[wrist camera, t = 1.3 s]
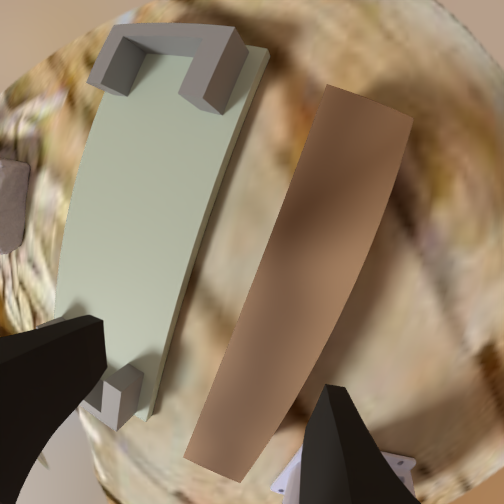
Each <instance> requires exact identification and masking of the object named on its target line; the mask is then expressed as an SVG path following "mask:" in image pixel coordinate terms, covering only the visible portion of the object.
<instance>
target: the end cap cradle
mask: <svg viewBox="0 0 504 504" xmlns="http://www.w3.org/2000/svg"><path fill="white" fill-rule="evenodd" d="M269 59H270V54H269V51H268V49H266V48H261V47H255V46H250V45H245V44H244V42H243V40H242V38H241V37H240V35H239V33H238V31H237V30H236V28H235V27H231V26H221V25H210V24H194V23H136V24H120V25H114V26H113V28H112V30H111V32H110V34H109V36H108V37H107V39H106V41H105V43H104V45H103V47H102V49H101V51H100V53H99V55H98V57H97V59H96V62H95V64H94V66H93V68H92V70H91V73H90V75H89V77H88V79H87V82H86V83H88V84H90V85H92V86H95V87H97V88H99V89H101V90H103V91H105V93H104V95H103V98H102V100H101V103H100V106H99V108H98V111H97V114H96V116H95V119H94V122H93V125H92V127H91V130H90V133H89V136H88V139H87V142H86V146H85V149H84V152H83V155H82V159H81V162H80V166H79V169H78V173H77V177H76V180H75V184H74V188H73V192H72V197H71V201H70V205H69V210H68V215H67V220H66V225H65V230H64V236H63V242H62V248H61V254H60V261H59V269H58V277H57V286H56V297H55V310H54V319H53V320H51V321H48V322H46V323H43V324H41V325H38V326H36V329H38V328H41V327H45V326H48V325H52V324H55V323H59V322H62V321H65V320H69V319H72V318H76V317H80V316H84V315H89V314H90V315H92V316H95V317H97V318H99V319H102V320H103V322H104V335H105V347H106V357H107V365H108V367H107V369H106V370H105V372H104V374H103V375H102V377H101V378H100V380H99V381H98V383H97V384H96V386H95V387H94V388H93V390H92V391H91V392H90V393H89V394H88V395H87V396H86V398H85V399H84V400H83V401H82V402H81V403H80V404H79V405H80V406H82V407H83V408H84V409H85V410H87V411H88V412H89V413H91V414H92V415H93V416H95V417H96V418H97V419H99V420H100V421H102V422H103V423H104V424H106V425H107V426H109V427H110V428H112V429H113V430H115V431H118V430H119V429H120V428H121V427H122V426H123V425H124V424H125V423H126V422H127V421H128V420H129V419H130V418H131V417H132V416H133V415H135V416H137V417H138V418H140V419H142V420H143V421H145V422H147V420H148V419H149V418H150V417H151V416H152V413H153V409H154V405H155V401H156V397H157V393H158V389H159V385H160V381H161V377H162V373H163V369H164V366H165V362H166V358H167V354H168V351H169V347H170V344H171V340H172V336H173V333H174V329H175V326H176V322H177V319H178V315H179V312H180V309H181V305H182V302H183V298H184V295H185V292H186V288H187V285H188V282H189V279H190V275H191V272H192V269H193V266H194V263H195V260H196V256H197V253H198V250H199V247H200V244H201V241H202V238H203V235H204V232H205V229H206V226H207V223H208V220H209V217H210V214H211V211H212V208H213V205H214V202H215V199H216V196H217V194H218V191H219V188H220V185H221V182H222V179H223V177H224V174H225V171H226V168H227V165H228V163H229V160H230V157H231V155H232V152H233V149H234V146H235V144H236V141H237V138H238V136H239V133H240V131H241V128H242V125H243V123H244V120H245V118H246V115H247V112H248V110H249V107H250V105H251V102H252V100H253V97H254V95H255V92H256V90H257V87H258V85H259V83H260V80H261V78H262V75H263V73H264V70H265V68H266V66H267V63H268V61H269Z"/></svg>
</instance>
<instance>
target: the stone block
mask: <svg viewBox="0 0 504 504" xmlns="http://www.w3.org/2000/svg"><path fill="white" fill-rule="evenodd" d="M29 173H30V165H28V164H27V163H24V162H19V161H14V160H9V159H4V158H0V254H7V253H10V252H12V251H13V250H15V249H17V248H18V246H20V245H21V243H22V236H23V231H24V226H25V210H26V203H25V202H26V195H27V190H28V178H29Z"/></svg>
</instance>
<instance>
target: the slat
mask: <svg viewBox="0 0 504 504" xmlns="http://www.w3.org/2000/svg"><path fill="white" fill-rule="evenodd" d="M413 120H414V118H412V117H410V116H408V115H406V114H404V113H401V112H399V111H397V110H395V109H392V108H390V107H388V106H385V105H383V104H380V103H378V102H375V101H373V100H370V99H368V98H365V97H362V96H360V95H357V94H354V93H352V92H349V91H346V90H343V89H340V88H337V87H334V86H331V85H328V84H327V86H326V88H325V91H324V94H323V97H322V99H321V102H320V105H319V108H318V110H317V113H316V116H315V119H314V121H313V124H312V127H311V129H310V132H309V135H308V137H307V140H306V143H305V146H304V148H303V151H302V154H301V156H300V159H299V162H298V164H297V167H296V170H295V172H294V175H293V178H292V180H291V183H290V186H289V188H288V191H287V194H286V196H285V199H284V202H283V204H282V207H281V210H280V212H279V215H278V218H277V220H276V223H275V225H274V228H273V231H272V233H271V236H270V239H269V241H268V244H267V246H266V249H265V252H264V254H263V257H262V259H261V262H260V265H259V267H258V270H257V272H256V275H255V278H254V280H253V283H252V285H251V288H250V290H249V293H248V296H247V298H246V301H245V303H244V306H243V308H242V311H241V314H240V316H239V319H238V321H237V324H236V326H235V329H234V331H233V334H232V337H231V339H230V342H229V344H228V347H227V349H226V352H225V354H224V357H223V359H222V362H221V364H220V367H219V369H218V372H217V374H216V377H215V380H214V382H213V385H212V387H211V390H210V392H209V395H208V397H207V400H206V402H205V405H204V407H203V409H202V412H201V414H200V417H199V419H198V422H197V424H196V427H195V429H194V432H193V434H192V437H191V439H190V442H189V444H188V446H187V449H186V451H185V454H184V456H183V457H184V458H186V459H188V460H190V461H192V462H194V463H196V464H198V465H200V466H202V467H204V468H206V469H209V470H211V471H213V472H215V473H217V474H220V475H222V476H224V477H227V478H229V479H232V480H234V481H237V482H239V483H241V481H242V480H243V478H244V477H245V476H246V474H247V473H248V471H249V470H250V469H251V467H252V466H253V464H254V463H255V461H256V460H257V459H258V457H259V456H260V454H261V453H262V451H263V450H264V448H265V447H266V445H267V444H268V442H269V441H270V439H271V437H272V436H273V434H274V433H275V431H276V430H277V428H278V427H279V425H280V423H281V422H282V420H283V418H284V417H285V415H286V414H287V412H288V410H289V409H290V407H291V405H292V404H293V402H294V400H295V399H296V397H297V395H298V393H299V392H300V390H301V388H302V387H303V385H304V383H305V381H306V379H307V378H308V376H309V374H310V372H311V370H312V369H313V367H314V365H315V363H316V361H317V359H318V358H319V356H320V354H321V352H322V350H323V348H324V346H325V344H326V342H327V340H328V338H329V336H330V334H331V333H332V331H333V329H334V327H335V324H336V322H337V320H338V318H339V316H340V314H341V312H342V310H343V308H344V306H345V304H346V302H347V299H348V297H349V295H350V293H351V291H352V289H353V286H354V284H355V282H356V280H357V277H358V275H359V273H360V271H361V268H362V266H363V264H364V261H365V259H366V256H367V254H368V252H369V249H370V247H371V244H372V242H373V239H374V237H375V234H376V232H377V229H378V227H379V224H380V221H381V219H382V216H383V214H384V211H385V208H386V205H387V203H388V200H389V197H390V194H391V191H392V188H393V186H394V183H395V180H396V177H397V174H398V171H399V168H400V164H401V161H402V158H403V155H404V152H405V148H406V145H407V142H408V138H409V135H410V131H411V128H412V124H413Z"/></svg>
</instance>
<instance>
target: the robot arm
mask: <svg viewBox="0 0 504 504" xmlns="http://www.w3.org/2000/svg"><path fill="white" fill-rule="evenodd" d="M107 367H108V365H107V357H106V347H105V335H104V322H103V320H102V319H99V318H97V317H95V316H92V315H90V314H89V315H84V316H80V317H76V318H72V319H69V320H65V321H62V322H59V323H55V324H52V325H48V326H45V327H41V328H38V329H34V330H31V331H27V332H22V333H18V334H14V335H10V336H6V337H1V338H0V504H16V501H17V498H18V496H19V493H20V490H21V488H22V486H23V484H24V482H25V480H26V478H27V476H28V474H29V472H30V470H31V468H32V466H33V464H34V463H35V461H36V459H37V458H38V456H39V454H40V453H41V451H42V450H43V448H44V447H45V445H46V444H47V442H48V441H49V439H50V438H51V436H52V435H53V434H54V432H55V431H56V430H57V429H58V427H59V426H60V425H61V424H62V423H63V422H64V421H65V420H66V419H67V417H68V416H69V415H70V414H71V413H72V412H73V411H74V410H75V409H76V408H77V406H78V405H79V404H80V403H81V402H82V401H83V400H84V399H85V398H86V396H87V395H88V394H89V393H90V392H91V391H92V390H93V388H94V387H95V386H96V384H97V383H98V381H99V380H100V378H101V377H102V375H103V374H104V372H105V370H106V369H107ZM400 461H401V462H400ZM415 465H416V460H415V459H414V458H410V457H405V456H400V455H395V454H391V453H386V452H382V451H380V450H379V448H378V447H377V445H376V443H375V441H374V440H373V438H372V436H371V435H370V433H369V431H368V429H367V428H366V426H365V424H364V422H363V420H362V418H361V417H360V415H359V413H358V411H357V409H356V407H355V405H354V403H353V401H352V399H351V397H350V395H349V394H348V392H347V390H346V388H345V387H340V386H334V385H328V384H325V386H324V389H323V391H322V393H321V395H320V398H319V400H318V402H317V404H316V407H315V409H314V411H313V413H312V415H311V418H310V420H309V422H308V424H307V426H306V429H305V435H304V441H303V444H302V446H301V447H300V448H299V450H298V451H297V452H296V454H295V455H294V456H293V458H292V459H291V460H290V462H289V463H288V464H287V466H286V467H285V468H284V469H283V471H282V472H281V473H280V474H279V476H278V477H277V478H276V479H275V481H274V482H273V483H272V484H271V487H270V489H271V490H272V491H274V492H277V493H280V494H283V495H284V498H283V502H282V504H421V503H420V502H419V501H418V500H417V499H416V496H415V491H414V486H413V481H412V476H411V471H410V470H411V469H412V468H413V467H414V466H415Z"/></svg>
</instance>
